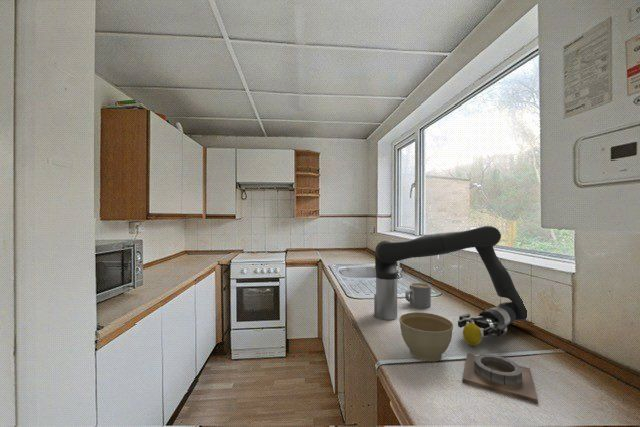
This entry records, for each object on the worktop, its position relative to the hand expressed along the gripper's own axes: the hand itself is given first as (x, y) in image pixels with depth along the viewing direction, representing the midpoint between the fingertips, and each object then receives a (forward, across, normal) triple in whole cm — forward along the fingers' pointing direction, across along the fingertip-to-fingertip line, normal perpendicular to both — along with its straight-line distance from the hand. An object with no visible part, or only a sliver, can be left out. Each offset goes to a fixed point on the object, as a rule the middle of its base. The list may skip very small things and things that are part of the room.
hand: (471, 328), depth 95 cm
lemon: (0, 0, +6) cm, 6 cm away
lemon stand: (+12, +14, +6) cm, 19 cm away
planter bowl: (+18, -5, +6) cm, 20 cm away
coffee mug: (-21, -38, +6) cm, 44 cm away
